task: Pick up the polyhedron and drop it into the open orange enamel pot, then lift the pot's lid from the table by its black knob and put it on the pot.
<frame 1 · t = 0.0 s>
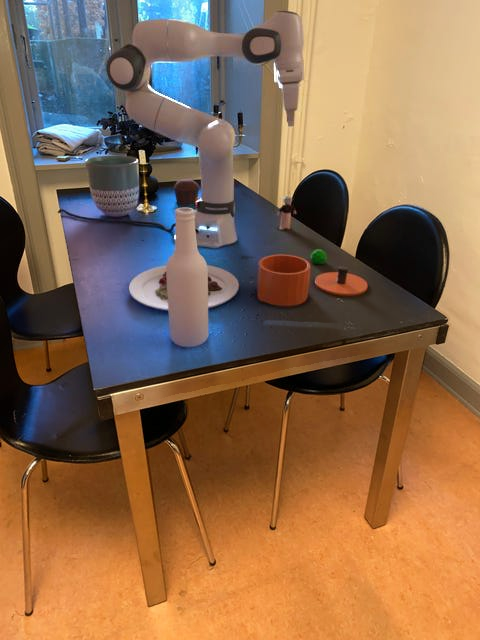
hand: (290, 124, 147), 39 cm above the table, tool pointing down, fingers open, 8 cm apart
muffin: (187, 203, 207), on the table
planter: (117, 215, 189), on the table
grandmother figurine: (285, 228, 179), on the table
pot: (282, 296, 127), on the table
alcohol: (189, 338, 107), on the table
plated food: (184, 291, 129), on the table
polyhedron: (317, 264, 148), on the table
lid: (340, 284, 133), point 1 cm above the table
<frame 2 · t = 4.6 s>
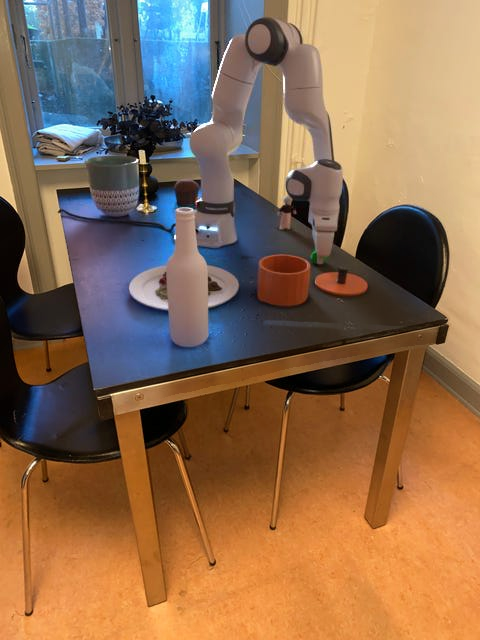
hand: (318, 259, 147), 2 cm above the table, tool pointing down, fingers closed on polyhedron, 5 cm apart
polyhedron: (317, 264, 148), on the table, touching gripper
everything else where it was.
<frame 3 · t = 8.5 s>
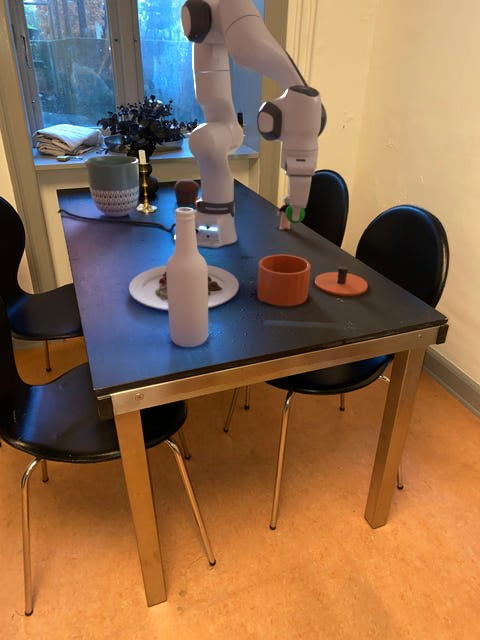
hand: (294, 216, 120), 21 cm above the table, tool pointing down, fingers closed on polyhedron, 5 cm apart
polyhedron: (294, 223, 121), point 19 cm above the table, touching gripper
everything else where it was.
when the fingers open (7 cm above the table, at t = 12.7 s): polyhedron drops 3 cm, resting on pot.
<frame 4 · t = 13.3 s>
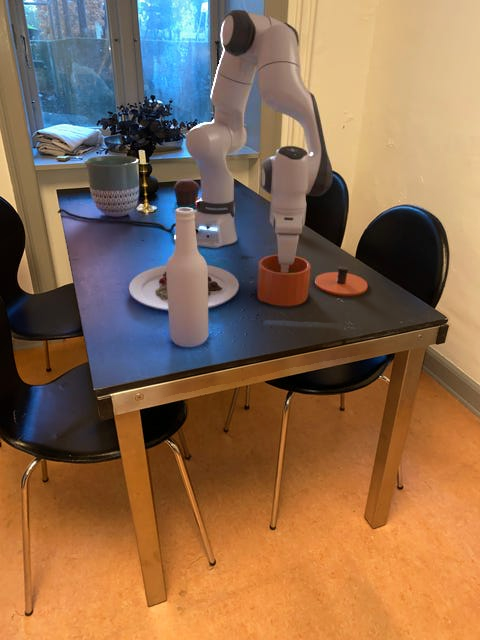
hand: (283, 267, 123), 8 cm above the table, tool pointing down, fingers open, 8 cm apart
polyhedron: (283, 287, 127), point 2 cm above the table, touching pot
everything else where it was.
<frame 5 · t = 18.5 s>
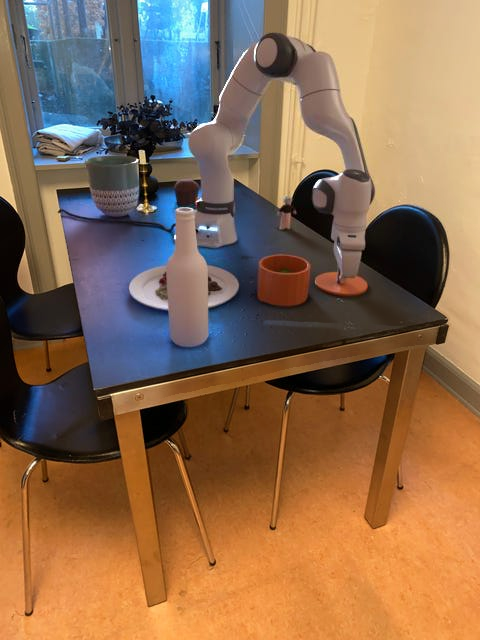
hand: (341, 279, 133), 2 cm above the table, tool pointing down, fingers closed on lid, 2 cm apart
lid: (340, 284, 133), point 1 cm above the table, touching gripper
everything else where it was.
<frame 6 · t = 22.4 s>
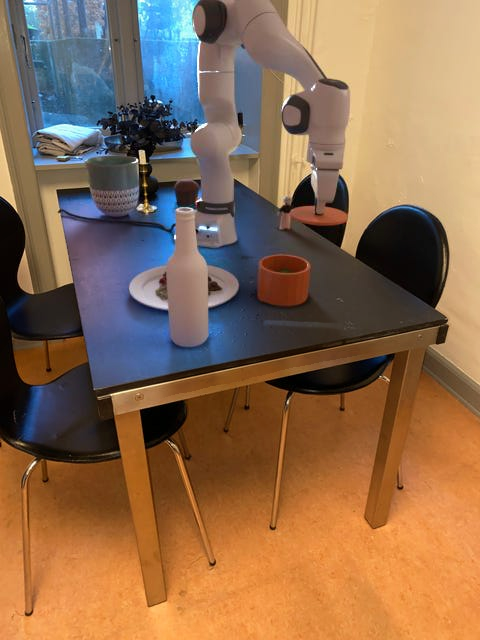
hand: (318, 210, 119), 23 cm above the table, tool pointing down, fingers closed on lid, 2 cm apart
lid: (318, 216, 120), point 21 cm above the table, touching gripper
everything else where it was.
when the fingers open (11 cm above the table, at t = 26.2 s): lid stays where it is, resting on pot.
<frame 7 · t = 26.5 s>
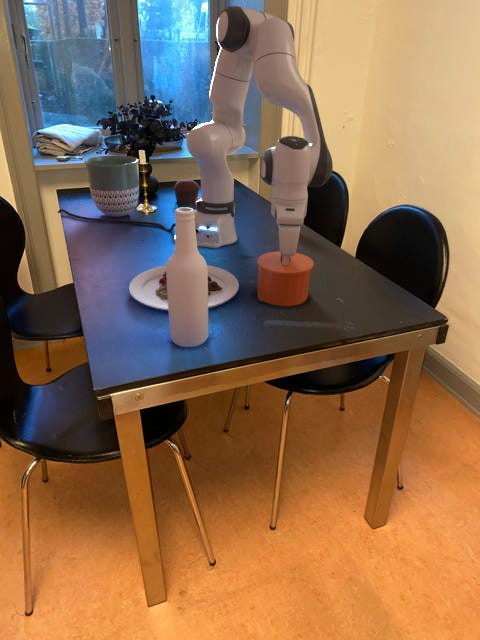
hand: (284, 259, 122), 11 cm above the table, tool pointing down, fingers open, 5 cm apart
lid: (285, 263, 123), point 9 cm above the table, touching pot
everything else where it was.
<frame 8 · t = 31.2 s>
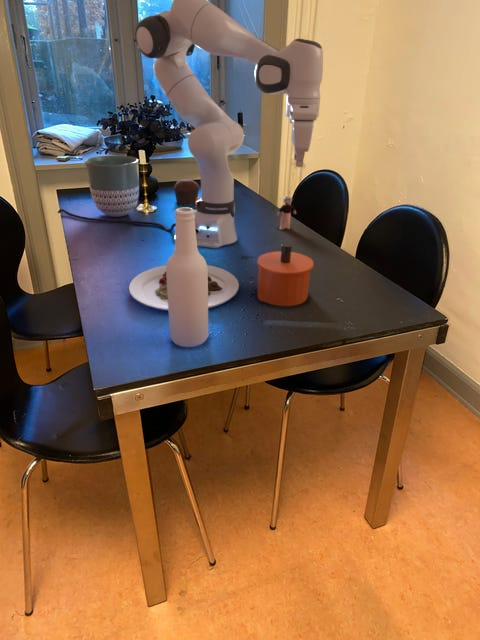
hand: (298, 163, 131), 31 cm above the table, tool pointing down, fingers open, 8 cm apart
nothing on the table moved.
at the end: polyhedron inside the target area in the pot (1.2 cm from its centre), point 2.2 cm above the pot's base; lid 0.2 cm off-centre on the pot, point 9.5 cm above the pot's base; lid tilted 0° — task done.
